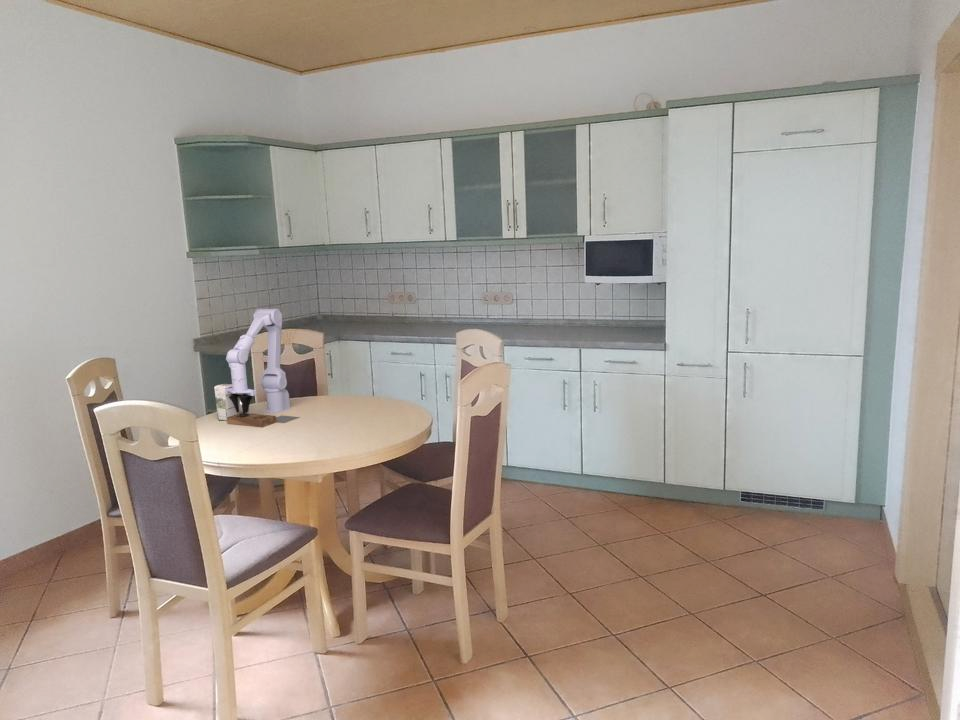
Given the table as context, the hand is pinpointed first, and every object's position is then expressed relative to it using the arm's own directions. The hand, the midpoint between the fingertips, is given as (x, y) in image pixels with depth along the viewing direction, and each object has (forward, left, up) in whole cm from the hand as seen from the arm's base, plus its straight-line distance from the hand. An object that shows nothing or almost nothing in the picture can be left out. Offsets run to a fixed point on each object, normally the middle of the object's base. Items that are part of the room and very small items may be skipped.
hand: (242, 412), depth 282 cm
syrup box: (-3, -12, -5) cm, 13 cm away
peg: (0, 0, -3) cm, 3 cm away
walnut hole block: (0, +4, -4) cm, 6 cm away
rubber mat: (-9, +12, -4) cm, 16 cm away
